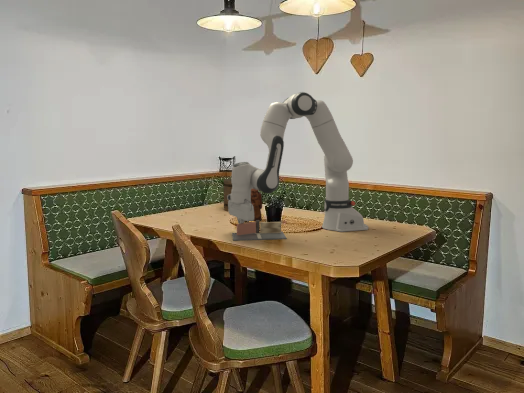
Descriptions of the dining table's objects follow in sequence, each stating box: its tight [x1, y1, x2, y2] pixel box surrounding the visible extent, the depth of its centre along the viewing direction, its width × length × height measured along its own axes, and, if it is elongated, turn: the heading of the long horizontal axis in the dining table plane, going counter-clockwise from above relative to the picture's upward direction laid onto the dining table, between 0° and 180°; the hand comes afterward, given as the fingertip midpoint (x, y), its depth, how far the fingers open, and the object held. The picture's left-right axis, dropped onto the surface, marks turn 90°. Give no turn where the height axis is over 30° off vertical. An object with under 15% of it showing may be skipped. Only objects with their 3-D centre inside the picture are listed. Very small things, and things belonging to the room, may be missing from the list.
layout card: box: [231, 230, 287, 241], centre depth 219 cm, size 24×13×1 cm, turn 96°
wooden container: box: [223, 177, 232, 212], centre depth 285 cm, size 15×15×22 cm
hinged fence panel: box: [236, 221, 256, 235], centre depth 220 cm, size 10×1×5 cm, turn 120°
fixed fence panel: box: [255, 220, 282, 233], centre depth 223 cm, size 12×2×6 cm, turn 96°
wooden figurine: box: [251, 189, 263, 222], centre depth 253 cm, size 12×6×18 cm, turn 134°
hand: (241, 227), depth 220 cm, fingers closed
